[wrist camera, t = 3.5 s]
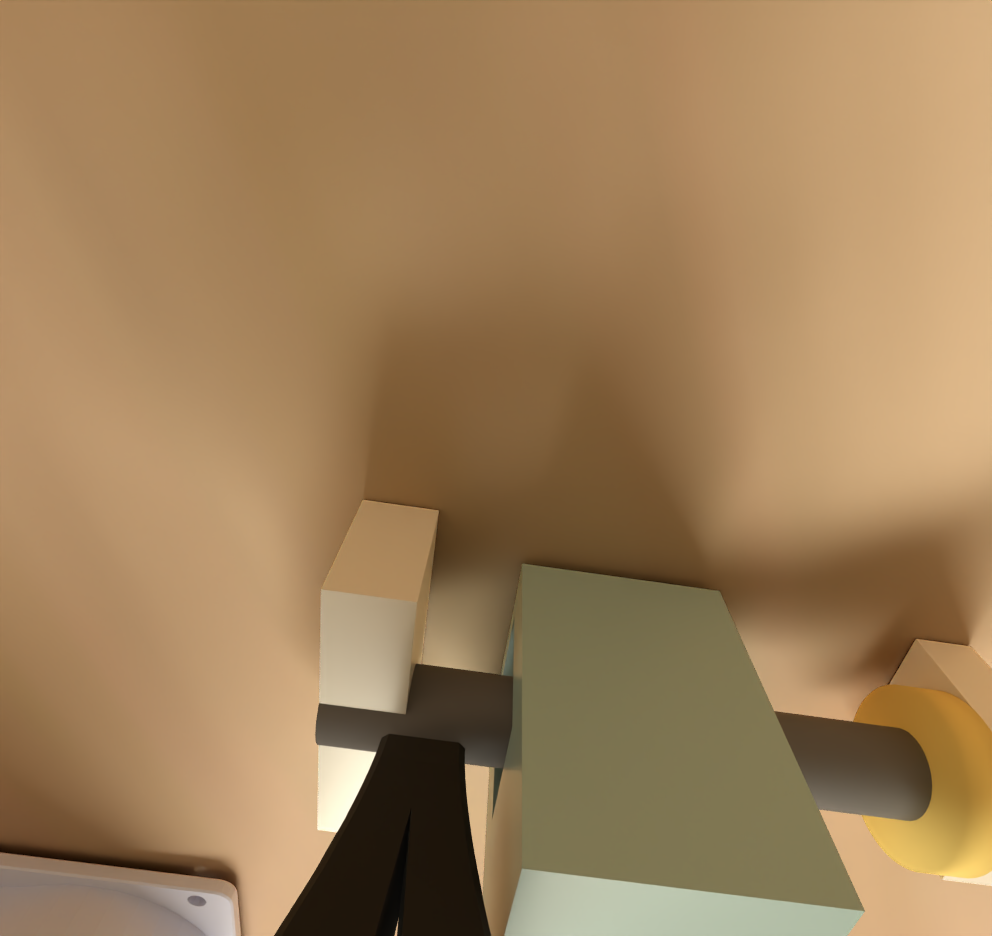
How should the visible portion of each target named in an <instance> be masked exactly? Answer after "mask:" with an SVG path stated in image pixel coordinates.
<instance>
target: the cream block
mask: <svg viewBox="0 0 992 936" xmlns="http://www.w3.org/2000/svg"><path fill="white" fill-rule="evenodd" d="M892 684H895V685H903V686H910V687H918V688H925V689H932V690H940V691H944V692H947V693H950V694H952V695H954V696H956V697H958V698H960V699H961V700H963V701H964V702H965V703H967V704H968V705H969V706H970V707H971V708H973V709H974V710H975V711H976V712H977V713H978V715H979V716H980V717H981V718H982V719H983V720H984V722H985V723H986V724H987V726H988V727H989V728H990V730H991V731H992V669H991V668H990V667H989V665H988V664H987V663H986V662H985V661H984V660H983V659H982V658H981V657H980V656H979V655H978V653H977V652H976V651H975V650H974V649H973V648H972V647H971V646H965V645H958V644H950V643H943V642H936V641H929V640H921V639H916V640H915V641H914V643H913V645H912V646H911V648H910V650H909V652H908V653H907V655H906V657H905V658H904V660H903V662H902V663H901V665H900V667H899V669H898V670H897V672H896V674H895V675H894V677H893V679H892V681H891V682H890V684H889V685H892ZM940 877H941V879H942V880H949V881H957V882H965V883H973V884H981V885H988V886H992V871H991V872H989V873H988V874H986V875H984V876H981V877H978V878H969V879H967V878H959V877H951V876H943V875H940Z"/></svg>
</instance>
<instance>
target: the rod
mask: <svg viewBox="0 0 992 936" xmlns="http://www.w3.org/2000/svg"><path fill="white" fill-rule="evenodd" d="M774 712H775V714H776V716H777V719H778V721H779V723H780V725H781V728H782V730H783V732H784V734H785V736H786V739H787V741H788V743H789V745H790V747H791V750H792V752H793V754H794V756H795V758H796V761H797V763H798V765H799V767H800V769H801V772H802V774H803V776H804V778H805V780H806V783H807V785H808V787H809V789H810V791H811V794H812V796H813V798H814V800H815V802H816V805H817V807H818V809H819V810H827V811H835V812H843V813H850V814H858V815H862V817H863V819H864V821H865V824H866V826H867V827H868V829H869V831H870V833H871V834H872V836H873V837H874V839H875V840H876V842H877V843H878V845H879V846H880V847H881V848H882V849H883V851H884V852H885V853H886V854H887V855H888V856H889V857H890V858H891V859H892V860H894V861H895V862H896V863H898V864H899V865H901V866H903V867H904V868H906V869H908V870H911V871H914V872H920V873H928V874H935V875H943V876H951V877H959V878H967V879H969V878H978V877H981V876H984V875H986V874H988V873H989V872H991V871H992V731H991V730H990V728H989V727H988V726H987V724H986V723H985V722H984V720H983V719H982V718H981V717H980V716H979V715H978V713H977V712H976V711H975V710H974V709H973V708H971V707H970V706H969V705H968V704H967V703H965V702H964V701H963V700H961V699H960V698H958V697H956V696H954V695H952V694H950V693H947V692H944V691H940V690H932V689H925V688H918V687H910V686H903V685H895V684H892V685H885V686H881V687H879V688H877V689H875V690H874V691H872V692H871V693H870V694H869V695H868V696H867V697H866V698H865V699H864V700H863V702H862V703H861V705H860V707H859V709H858V711H857V713H856V715H855V718H854V721H853V722H851V721H844V720H836V719H828V718H821V717H813V716H806V715H798V714H791V713H783V712H776V711H774ZM512 718H513V676H506V675H498V674H491V673H483V672H476V671H468V670H461V669H453V668H446V667H438V666H431V665H423V664H416V665H415V668H414V672H413V676H412V681H411V686H410V692H409V697H408V703H407V709H406V714H398V713H390V712H383V711H375V710H368V709H360V708H352V707H345V706H337V705H329V704H322V703H319V707H318V713H317V720H316V743H317V745H323V746H330V747H338V748H346V749H354V750H361V751H369V752H377V749H378V746H379V743H380V741H381V738H382V737H384V736H386V735H387V734H396V735H404V736H412V737H419V738H427V739H435V740H443V741H451V742H459V743H460V744H461V745H462V746H463V747H464V748H465V764H470V765H478V766H486V767H493V768H501V769H503V768H504V763H505V758H506V754H507V749H508V745H509V740H510V735H511V731H512Z"/></svg>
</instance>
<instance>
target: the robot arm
mask: <svg viewBox="0 0 992 936" xmlns="http://www.w3.org/2000/svg"><path fill="white" fill-rule="evenodd" d="M398 918H399V920H398ZM397 922H398V932H397V936H491V932H490V928H489V924H488V919H487V915H486V910H485V906H484V901H483V896H482V891H481V885H480V880H479V875H478V870H477V865H476V859H475V854H474V848H473V842H472V836H471V828H470V821H469V813H468V805H467V795H466V783H465V748H464V747H463V746H462V745H461V744H460V743H459V742H451V741H443V740H435V739H427V738H419V737H412V736H404V735H396V734H387V735H386V736H384V737H382V738H381V741H380V743H379V746H378V749H377V752H376V754H375V757H374V759H373V761H372V764H371V766H370V768H369V771H368V773H367V775H366V777H365V780H364V782H363V784H362V786H361V788H360V790H359V792H358V794H357V796H356V798H355V800H354V802H353V804H352V806H351V808H350V809H349V811H348V813H347V815H346V817H345V819H344V821H343V823H342V824H341V826H340V828H339V830H338V832H337V833H336V835H335V837H334V839H333V840H332V842H331V844H330V846H329V847H328V849H327V851H326V853H325V854H324V856H323V858H322V860H321V861H320V863H319V865H318V867H317V868H316V870H315V872H314V873H313V875H312V877H311V878H310V880H309V882H308V883H307V885H306V886H305V888H304V889H303V891H302V893H301V894H300V896H299V897H298V899H297V900H296V902H295V904H294V905H293V907H292V908H291V910H290V912H289V913H288V915H287V916H286V918H285V919H284V921H283V923H282V924H281V926H280V927H279V929H278V930H277V932H276V934H275V935H274V936H394V935H395V931H396V926H397ZM0 936H241V929H240V918H239V906H238V894H237V890H236V888H235V886H234V885H233V884H232V883H230V882H228V881H226V880H221V879H215V878H207V877H199V876H190V875H182V874H174V873H166V872H158V871H149V870H141V869H133V868H125V867H117V866H108V865H100V864H92V863H84V862H76V861H67V860H59V859H51V858H43V857H35V856H27V855H18V854H10V853H2V852H0Z"/></svg>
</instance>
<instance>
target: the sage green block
mask: <svg viewBox="0 0 992 936" xmlns="http://www.w3.org/2000/svg"><path fill="white" fill-rule="evenodd" d="M501 675H506V676H513V718H512V731H511V735H510V740H509V745H508V749H507V754H506V758H505V763H504V768H503V769H501V768H493V767H489V785H488V803H487V822H486V840H485V858H484V877H483V895H482V896H483V901H484V906H485V910H486V915H487V919H488V924H489V928H490V932H491V936H847V935H848V934H849V932H850V931H851V930H852V928H853V927H854V926H855V924H856V923H857V921H858V920H859V919H860V917H861V916H862V915H863V913H864V912H865V910H864V908H863V906H862V904H861V902H860V899H859V897H858V895H857V893H856V891H855V888H854V886H853V884H852V882H851V880H850V877H849V875H848V873H847V871H846V869H845V866H844V864H843V862H842V860H841V858H840V855H839V853H838V851H837V849H836V847H835V844H834V842H833V840H832V838H831V836H830V833H829V831H828V829H827V827H826V824H825V822H824V820H823V818H822V816H821V813H820V811H819V809H818V807H817V805H816V802H815V800H814V798H813V796H812V794H811V791H810V789H809V787H808V785H807V783H806V780H805V778H804V776H803V774H802V772H801V769H800V767H799V765H798V763H797V761H796V758H795V756H794V754H793V752H792V750H791V747H790V745H789V743H788V741H787V739H786V736H785V734H784V732H783V730H782V728H781V725H780V723H779V721H778V719H777V716H776V714H775V712H774V710H773V708H772V705H771V703H770V701H769V699H768V697H767V694H766V692H765V690H764V688H763V686H762V683H761V681H760V679H759V677H758V675H757V672H756V670H755V668H754V666H753V664H752V661H751V659H750V657H749V655H748V653H747V650H746V648H745V646H744V644H743V642H742V639H741V637H740V635H739V633H738V631H737V628H736V626H735V624H734V622H733V620H732V617H731V615H730V613H729V611H728V608H727V606H726V604H725V602H724V600H723V597H722V595H721V593H720V591H717V590H710V589H703V588H695V587H688V586H681V585H674V584H667V583H659V582H652V581H645V580H638V579H630V578H623V577H616V576H609V575H602V574H594V573H587V572H580V571H573V570H565V569H558V568H551V567H544V566H537V565H529V564H522V567H521V573H520V578H519V583H518V588H517V593H516V598H515V603H514V609H513V614H512V619H511V624H510V629H509V634H508V639H507V645H506V650H505V655H504V660H503V665H502V670H501Z"/></svg>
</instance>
